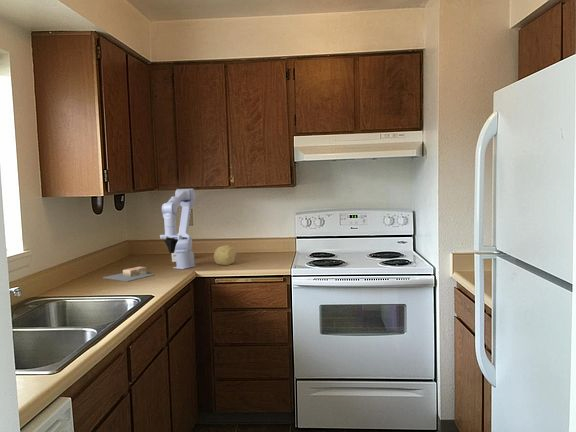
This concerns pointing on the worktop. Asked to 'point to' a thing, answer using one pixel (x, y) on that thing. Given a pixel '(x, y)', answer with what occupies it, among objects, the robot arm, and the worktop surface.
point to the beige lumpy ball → (225, 255)
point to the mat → (126, 278)
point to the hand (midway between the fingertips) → (171, 253)
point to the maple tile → (134, 271)
